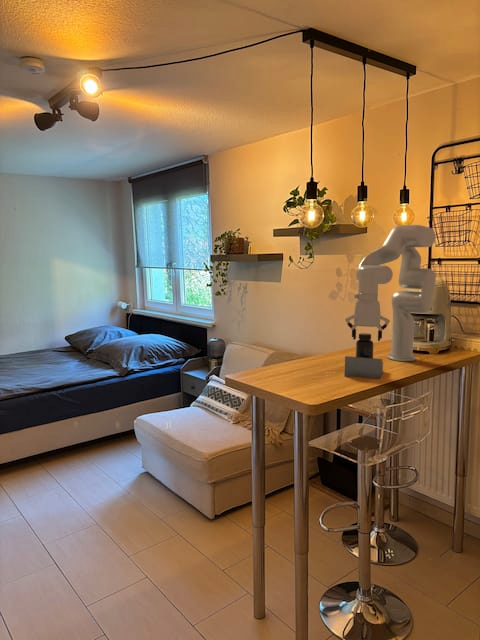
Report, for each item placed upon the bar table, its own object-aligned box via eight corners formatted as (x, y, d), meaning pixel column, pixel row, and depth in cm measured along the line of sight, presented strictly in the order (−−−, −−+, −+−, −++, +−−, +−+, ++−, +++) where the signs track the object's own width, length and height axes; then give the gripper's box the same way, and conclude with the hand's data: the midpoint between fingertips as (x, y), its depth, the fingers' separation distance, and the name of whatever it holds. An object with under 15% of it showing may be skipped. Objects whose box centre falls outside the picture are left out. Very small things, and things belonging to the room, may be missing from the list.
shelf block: (348, 368, 198) (349, 349, 197) (382, 371, 193) (383, 352, 192) (344, 376, 185) (345, 356, 184) (380, 379, 180) (382, 359, 179)
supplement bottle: (374, 362, 191) (375, 333, 190) (371, 365, 185) (372, 335, 184) (357, 360, 194) (358, 332, 193) (353, 363, 188) (354, 334, 187)
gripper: (344, 298, 185) (343, 340, 188) (390, 299, 180) (388, 342, 182) (347, 296, 192) (346, 336, 195) (390, 297, 187) (389, 338, 189)
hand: (366, 339), depth 189 cm, fingers open, 9 cm apart
